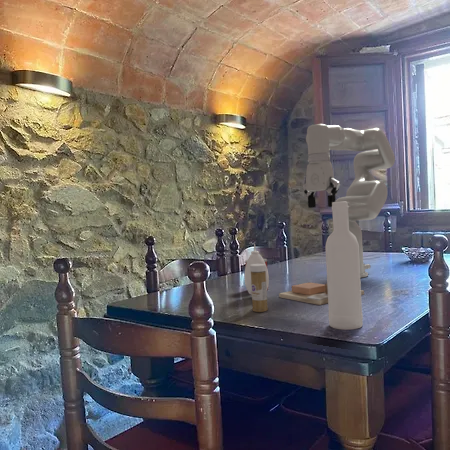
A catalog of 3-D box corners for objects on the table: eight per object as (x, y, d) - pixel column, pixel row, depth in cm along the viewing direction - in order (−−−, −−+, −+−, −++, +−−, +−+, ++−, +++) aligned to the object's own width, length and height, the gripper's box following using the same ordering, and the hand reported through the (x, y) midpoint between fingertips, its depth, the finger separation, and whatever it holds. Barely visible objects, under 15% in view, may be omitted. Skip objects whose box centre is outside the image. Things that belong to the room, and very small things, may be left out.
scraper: (340, 290, 146) (340, 280, 145) (352, 292, 141) (352, 281, 141) (307, 298, 137) (306, 287, 137) (319, 300, 133) (318, 288, 133)
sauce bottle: (253, 301, 143) (250, 244, 143) (241, 297, 150) (238, 243, 150) (274, 297, 147) (271, 242, 146) (261, 294, 154) (258, 241, 153)
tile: (309, 282, 152) (291, 285, 148) (327, 284, 146) (309, 288, 141) (309, 288, 152) (292, 292, 148) (327, 291, 146) (309, 295, 141)
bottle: (353, 331, 104) (347, 201, 103) (323, 327, 109) (316, 203, 108) (368, 323, 110) (362, 200, 108) (338, 319, 115) (332, 202, 114)
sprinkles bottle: (249, 311, 130) (246, 265, 129) (258, 308, 133) (255, 262, 133) (262, 313, 127) (259, 265, 126) (271, 309, 130) (268, 263, 130)
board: (322, 287, 159) (322, 284, 159) (364, 294, 144) (363, 290, 144) (279, 297, 147) (279, 293, 147) (319, 305, 133) (319, 301, 133)
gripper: (294, 162, 167) (297, 208, 168) (330, 156, 153) (332, 206, 154) (309, 162, 171) (311, 207, 172) (345, 156, 157) (347, 205, 158)
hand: (321, 207), depth 163 cm, fingers open, 9 cm apart
